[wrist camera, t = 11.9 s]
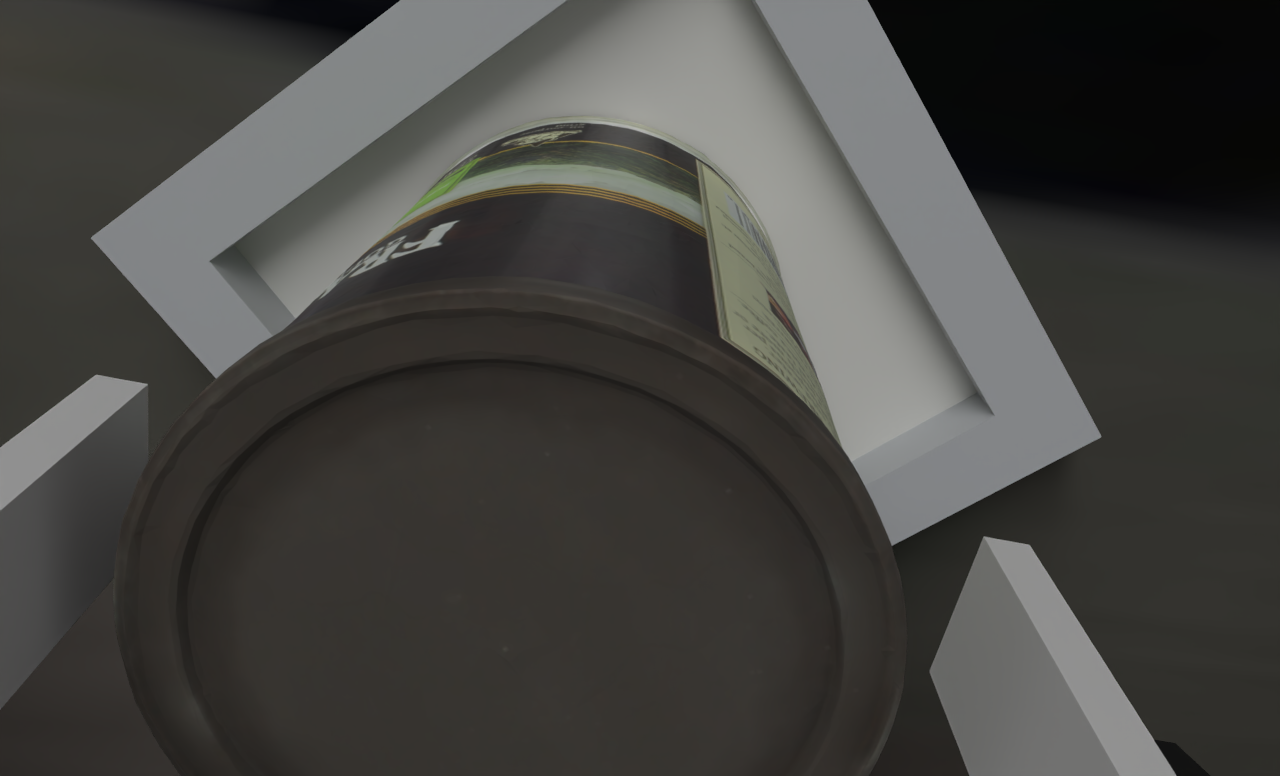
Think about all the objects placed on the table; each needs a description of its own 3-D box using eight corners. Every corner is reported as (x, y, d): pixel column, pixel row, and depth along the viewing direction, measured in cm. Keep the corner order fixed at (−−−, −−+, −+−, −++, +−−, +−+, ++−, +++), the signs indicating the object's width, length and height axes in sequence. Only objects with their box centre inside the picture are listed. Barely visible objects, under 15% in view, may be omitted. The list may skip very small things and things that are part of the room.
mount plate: (141, 213, 26) (90, 237, 24) (723, -230, 22) (730, -254, 19) (541, 677, 32) (531, 732, 29) (1065, 397, 27) (1101, 437, 25)
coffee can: (319, 353, 26) (-18, 728, 13) (535, 23, 23) (364, 95, 10) (630, 553, 28) (600, 1041, 16) (869, 279, 25) (1085, 611, 12)
